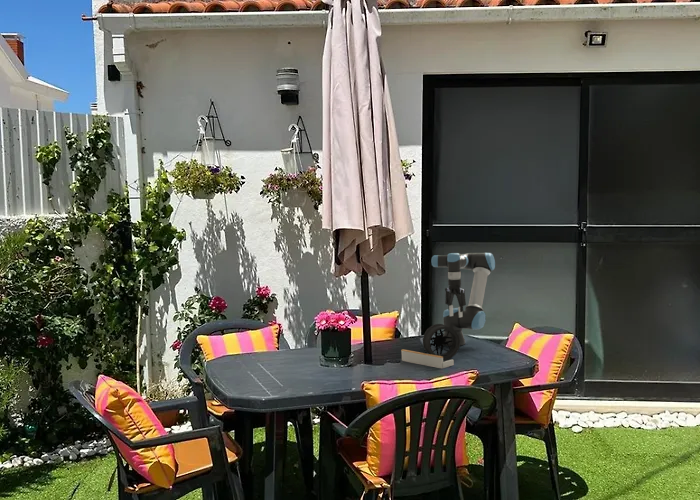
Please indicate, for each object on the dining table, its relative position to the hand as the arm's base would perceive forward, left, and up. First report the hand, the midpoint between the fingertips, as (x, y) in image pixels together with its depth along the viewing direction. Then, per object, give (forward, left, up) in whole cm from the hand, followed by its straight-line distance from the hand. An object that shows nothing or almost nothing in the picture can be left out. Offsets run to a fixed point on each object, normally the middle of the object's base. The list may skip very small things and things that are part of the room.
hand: (456, 316), depth 391 cm
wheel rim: (+15, 0, -23) cm, 27 cm away
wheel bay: (+28, 0, -23) cm, 36 cm away
